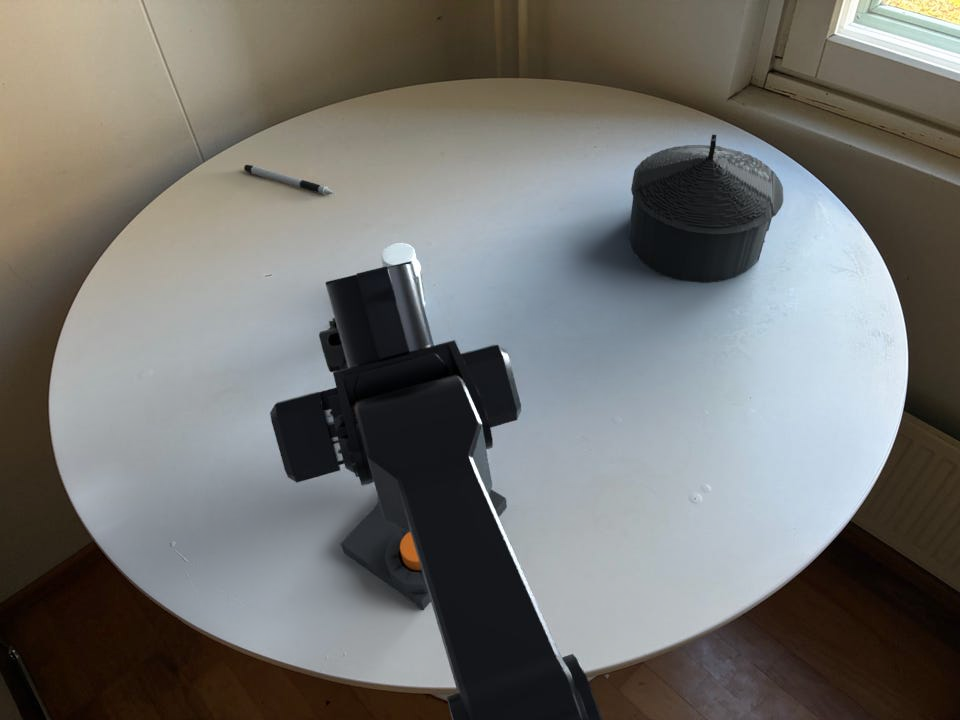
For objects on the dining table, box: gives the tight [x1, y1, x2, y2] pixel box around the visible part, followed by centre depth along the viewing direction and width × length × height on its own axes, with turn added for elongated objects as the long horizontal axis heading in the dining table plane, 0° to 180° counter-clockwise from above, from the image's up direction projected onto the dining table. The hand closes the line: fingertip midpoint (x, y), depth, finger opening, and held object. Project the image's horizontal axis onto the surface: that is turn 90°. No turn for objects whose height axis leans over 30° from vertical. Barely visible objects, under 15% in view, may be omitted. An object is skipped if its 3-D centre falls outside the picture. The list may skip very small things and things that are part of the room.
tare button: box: [400, 532, 422, 571], centre depth 69 cm, size 3×3×2 cm
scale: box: [340, 488, 508, 610], centre depth 73 cm, size 13×10×4 cm
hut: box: [628, 134, 784, 284], centre depth 96 cm, size 18×18×15 cm
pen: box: [243, 164, 334, 196], centre depth 114 cm, size 1×16×1 cm, turn 62°
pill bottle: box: [381, 242, 427, 308], centre depth 93 cm, size 5×5×8 cm
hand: (392, 403), depth 68 cm, fingers closed on jar, 7 cm apart
